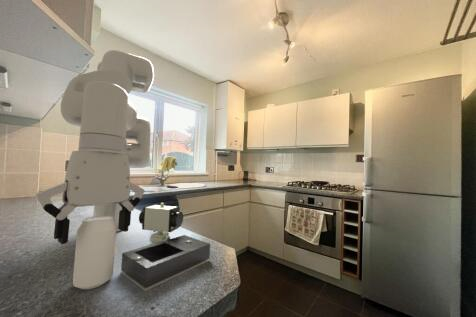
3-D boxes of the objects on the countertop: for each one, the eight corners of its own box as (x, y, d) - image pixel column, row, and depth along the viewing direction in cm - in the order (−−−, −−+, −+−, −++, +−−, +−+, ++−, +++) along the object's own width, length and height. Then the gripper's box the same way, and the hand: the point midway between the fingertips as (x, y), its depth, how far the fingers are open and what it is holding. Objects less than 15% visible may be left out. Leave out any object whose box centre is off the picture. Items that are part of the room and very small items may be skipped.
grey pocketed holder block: (120, 272, 41) (122, 251, 41) (183, 249, 54) (184, 234, 54) (145, 291, 35) (146, 267, 35) (209, 260, 48) (210, 243, 48)
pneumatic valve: (174, 250, 53) (176, 205, 54) (136, 246, 55) (139, 203, 56) (183, 243, 58) (185, 202, 59) (149, 239, 61) (151, 200, 62)
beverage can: (62, 290, 34) (68, 221, 35) (93, 272, 41) (97, 214, 41) (94, 294, 34) (99, 223, 34) (120, 275, 40) (124, 215, 41)
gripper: (137, 152, 48) (133, 224, 46) (37, 141, 34) (26, 243, 32) (154, 150, 43) (149, 229, 42) (46, 136, 29) (33, 254, 28)
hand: (95, 235), depth 37 cm, fingers open, 9 cm apart
